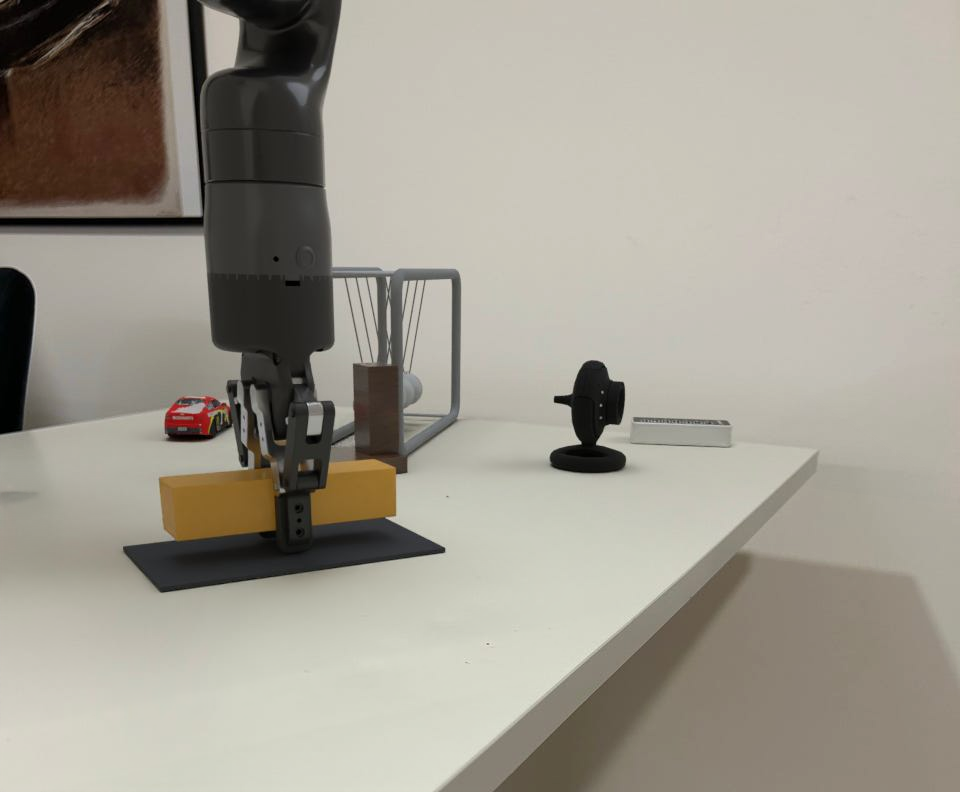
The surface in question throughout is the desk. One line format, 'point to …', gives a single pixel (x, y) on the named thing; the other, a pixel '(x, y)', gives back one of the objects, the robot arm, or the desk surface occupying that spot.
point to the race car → (197, 416)
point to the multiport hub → (680, 431)
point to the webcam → (592, 420)
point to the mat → (274, 553)
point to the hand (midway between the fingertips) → (284, 542)
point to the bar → (271, 499)
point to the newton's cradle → (407, 382)
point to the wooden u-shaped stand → (374, 417)
